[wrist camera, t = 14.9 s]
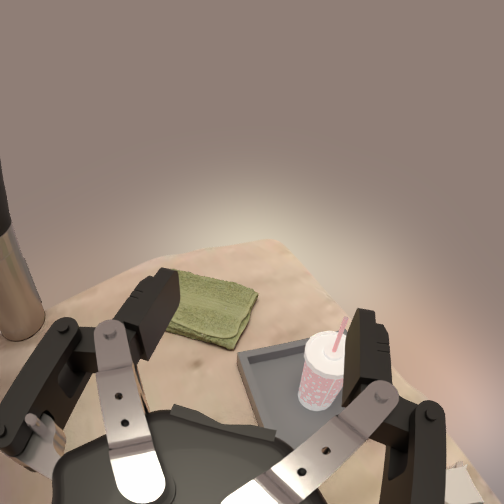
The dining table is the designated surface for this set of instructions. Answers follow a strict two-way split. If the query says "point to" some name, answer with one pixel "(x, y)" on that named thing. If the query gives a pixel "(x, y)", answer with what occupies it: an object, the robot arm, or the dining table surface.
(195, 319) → the washcloth
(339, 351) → the beverage cup
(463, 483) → the origami figure
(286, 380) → the grey tray
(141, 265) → the dining table surface
